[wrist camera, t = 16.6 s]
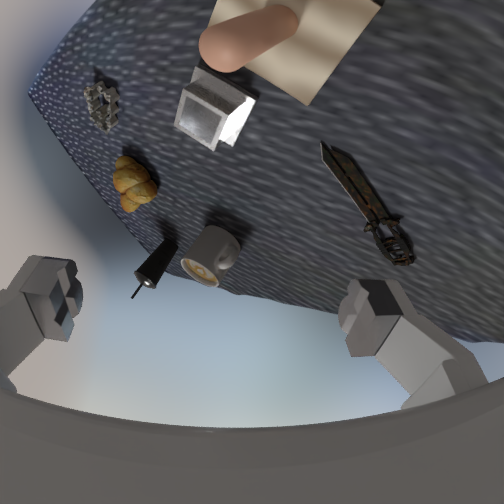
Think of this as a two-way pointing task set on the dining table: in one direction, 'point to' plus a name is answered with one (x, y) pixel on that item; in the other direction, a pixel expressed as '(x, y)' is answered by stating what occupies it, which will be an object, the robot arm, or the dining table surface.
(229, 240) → the coffee mug
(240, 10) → the board
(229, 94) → the holder
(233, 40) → the dowel
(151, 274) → the drinking cup
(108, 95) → the egg carton
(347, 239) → the dining table surface
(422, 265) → the dining table surface
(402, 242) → the knife
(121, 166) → the bread roll
